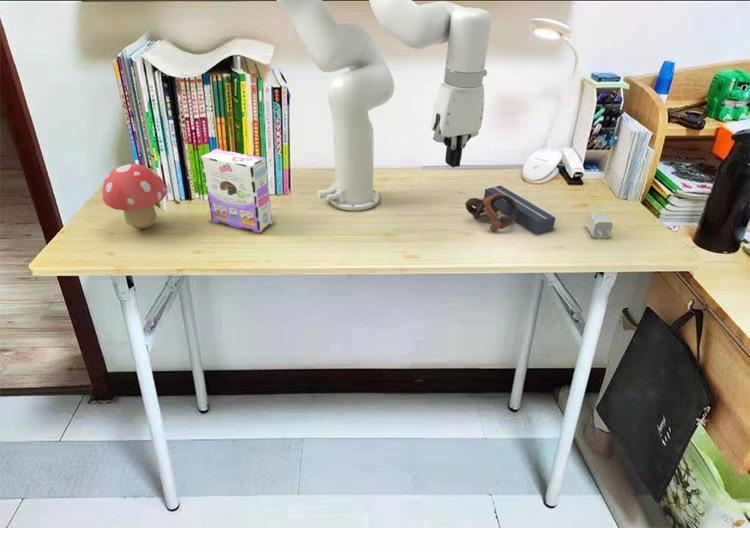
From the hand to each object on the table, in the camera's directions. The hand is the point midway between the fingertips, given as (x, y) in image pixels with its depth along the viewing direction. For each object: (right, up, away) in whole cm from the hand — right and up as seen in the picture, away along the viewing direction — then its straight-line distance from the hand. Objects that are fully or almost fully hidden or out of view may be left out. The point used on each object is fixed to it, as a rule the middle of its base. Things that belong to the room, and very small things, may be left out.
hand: (452, 164), depth 120 cm
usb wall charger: (+35, -15, +8) cm, 39 cm away
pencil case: (+18, -9, +16) cm, 26 cm away
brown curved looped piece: (+10, -12, +13) cm, 20 cm away
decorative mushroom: (-70, -13, +9) cm, 72 cm away
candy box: (-48, -12, +11) cm, 51 cm away
